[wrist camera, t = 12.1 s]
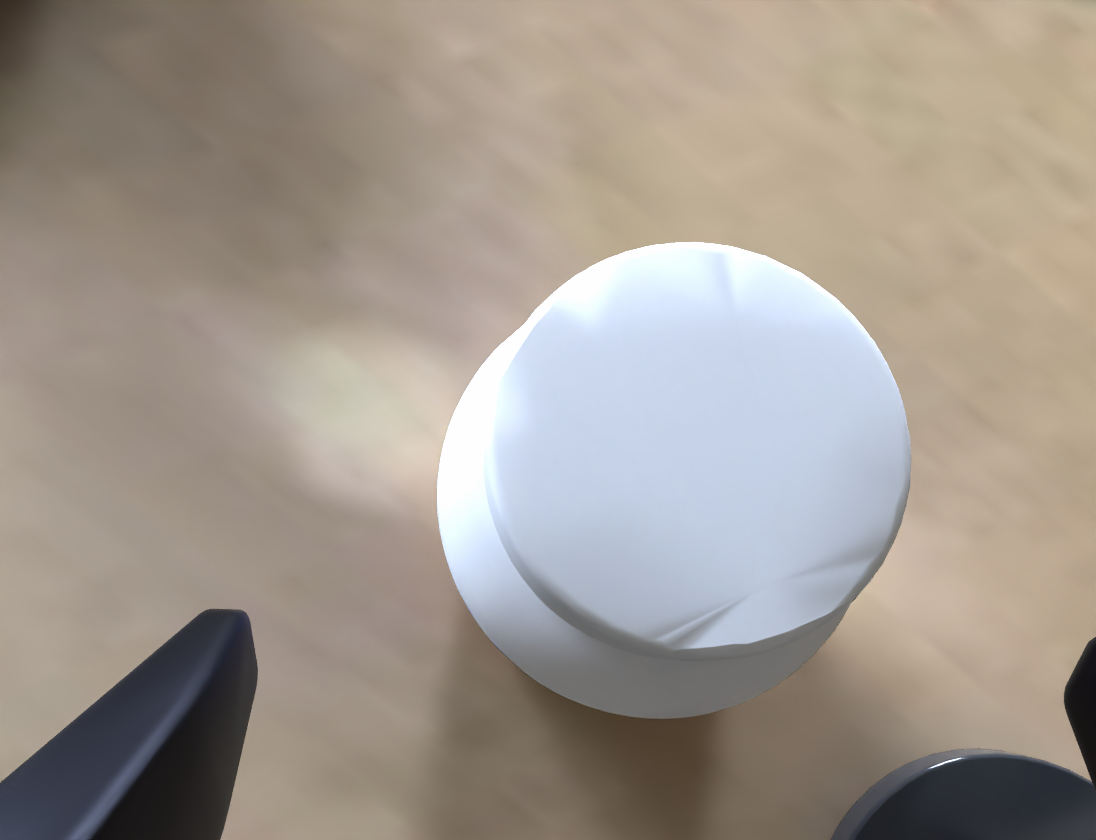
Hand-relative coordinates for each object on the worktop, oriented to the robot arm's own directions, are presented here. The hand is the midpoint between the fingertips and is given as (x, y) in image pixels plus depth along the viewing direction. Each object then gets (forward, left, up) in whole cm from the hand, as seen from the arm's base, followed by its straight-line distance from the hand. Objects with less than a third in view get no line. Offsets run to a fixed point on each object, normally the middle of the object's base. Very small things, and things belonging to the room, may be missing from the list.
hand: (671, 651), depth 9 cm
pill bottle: (+2, 0, -8) cm, 8 cm away
